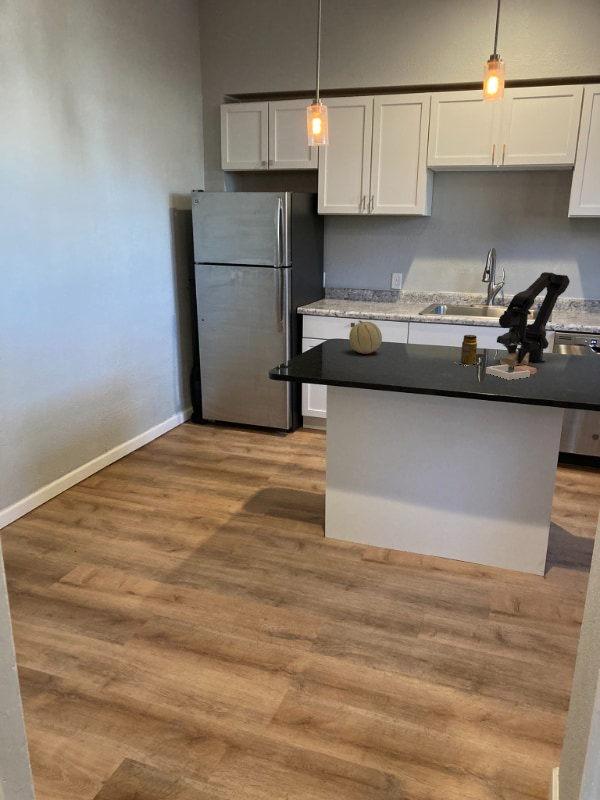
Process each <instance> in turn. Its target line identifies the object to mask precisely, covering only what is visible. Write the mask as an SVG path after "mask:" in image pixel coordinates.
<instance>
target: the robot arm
mask: <svg viewBox="0 0 600 800" xmlns="http://www.w3.org/2000/svg"><path fill="white" fill-rule="evenodd" d="M570 280H571V279H570V278H569V277H568V275H566V274H558V273H557V274H556V273H553V272H547V271H546V272H545V271H544V272H542V273H541V274H540V276H539V277H538V278H537V279H536V280H535V281H534V282H533V283H532V284H531V285H530V286H528V287H527V288H526V289H525V290H524V291H520V292H518V293H516V294H514V296H513V297H512V299H511V301H510V303H509V304H508V306H507V309H506V310H504V311H503V314H501V315H500V316H499V318H498V324H499V327H501V328H503V329H505V328H506V329H507V328H508V332H505V333H504V334H502V335H498V336H497V337H496V343H498V344H500V345H502V346H503V347H505V349H507V354H510V353H518V352H519V353H518V364H520V363H521V362H522V360H523V359H524V357H525V356H526V354H527V353H529V359H528V363H529V362H531V363H534V364H536V363H544V362H546V360H545V359H543V356H544V355H543V354H544V350H546V349H548V347H549V344H550V343H549V341H548V339H547V338H546V336H547V330H546V329H547V328H546V326H547V324H548V322H549V319H550V318H551V315H552V313H553V310H554V308H555V306H556V303H557V301H558V298H559V297H560V296H561V295H563V294H564V293H565V292H566V290H567V288H568V286H570V282H571V281H570ZM544 290H546V293H545V294H546V295H545V297H544V299H543V301H542V303H541V305H540V307H539V308H540V309H539V310H538V313H537V315H536V317H535V318H534V321H533V322H532V324H531V323H530V324H528V319H529V315H531V314H532V312H531V311H530V309H531V308H532V307H533V305H534V304H535V299H536V298H537V297H538V296H539V295H540V294H541V293H542V292H543V291H544ZM518 346H519V347H518Z"/></svg>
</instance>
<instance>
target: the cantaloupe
mask: <svg viewBox="0 0 600 800" xmlns="http://www.w3.org/2000/svg"><path fill="white" fill-rule="evenodd" d="M382 335H383V334H382V332H381V330H380V328H379V326H377V324H375V323H373V322H371V321H363V320H358V323H356V324H355V325H354V326H353V327H352V328H351V329H350V332H349V336H348V338H349V343H350V346H351V348H352V349H353V350H354V351H355V352H357V353H359V354H363V355H365V354H366V355H368V354H371V353H374V352H375V351H377V350H378V349H379V347H380V346H381V344H382V343H383V342H382V341H383V336H382Z"/></svg>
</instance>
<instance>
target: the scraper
mask: <svg viewBox="0 0 600 800" xmlns="http://www.w3.org/2000/svg"><path fill="white" fill-rule="evenodd" d="M518 353H519V352H518V351H517V352H516V353H510V354H509V353H506V357H500V361H499V365H500V364H501V365H506V364H507V365H509V368H510V367H512V368H511V369H514V368H513V367H516V366H517V365H519V366H524V364H526V365H529V361H528V359H529V353H527V354H526V356H525V357H524V359H523V360H522V362H521V363H520V364H518Z"/></svg>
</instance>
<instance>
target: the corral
mask: <svg viewBox="0 0 600 800" xmlns="http://www.w3.org/2000/svg"><path fill="white" fill-rule="evenodd" d="M509 368H510V367H509V365H507V364H506V365H500V364H499V365H493V366H487V367H485V374H487V375H490V374H491V375H490V376H493V375H494V376H493V377H496V376H498V377H497V378H500V377H501V379H503V378H504V379H503V380H506V379H507V381H513V380H512V379H514V380H520V379H519V378H521V379H526V377H528V378H530V371H528V370H527V371H520V372H514V371H512V372H509Z"/></svg>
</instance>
